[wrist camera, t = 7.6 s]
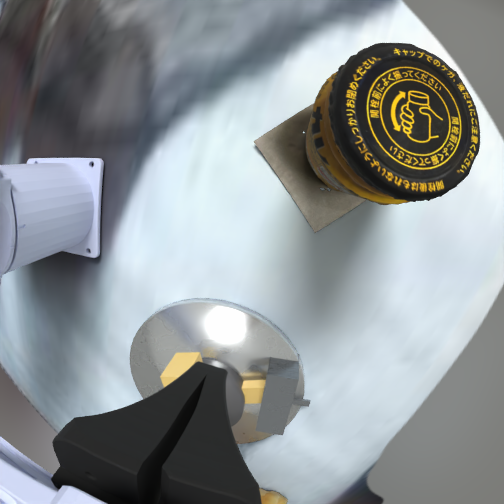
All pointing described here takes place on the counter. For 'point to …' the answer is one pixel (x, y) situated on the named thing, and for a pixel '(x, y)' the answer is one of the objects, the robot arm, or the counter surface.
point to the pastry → (272, 497)
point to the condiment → (377, 135)
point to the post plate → (225, 358)
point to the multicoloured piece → (235, 386)
